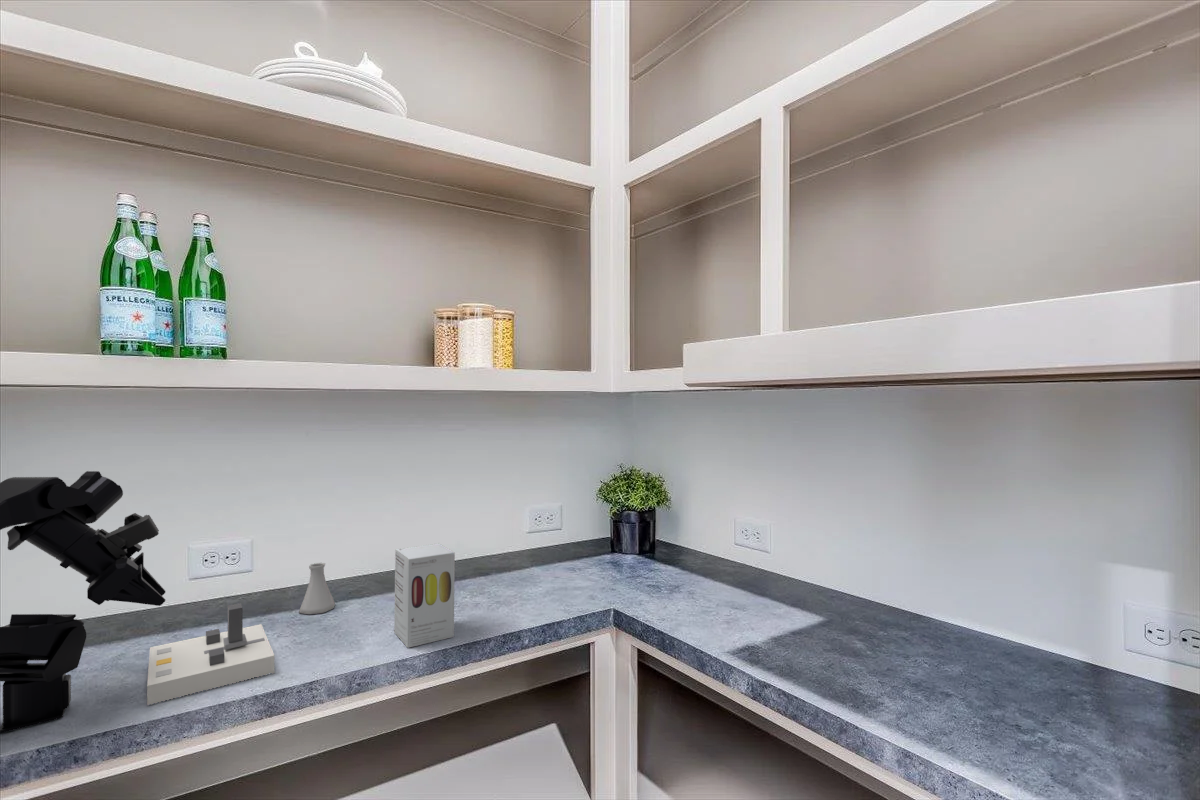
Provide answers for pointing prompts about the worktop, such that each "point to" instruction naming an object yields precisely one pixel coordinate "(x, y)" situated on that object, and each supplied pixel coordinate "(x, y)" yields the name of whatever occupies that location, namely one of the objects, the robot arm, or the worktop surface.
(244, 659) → the panel
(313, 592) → the flask
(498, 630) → the worktop surface
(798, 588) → the worktop surface
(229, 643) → the handle
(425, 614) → the supplement box
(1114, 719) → the worktop surface
